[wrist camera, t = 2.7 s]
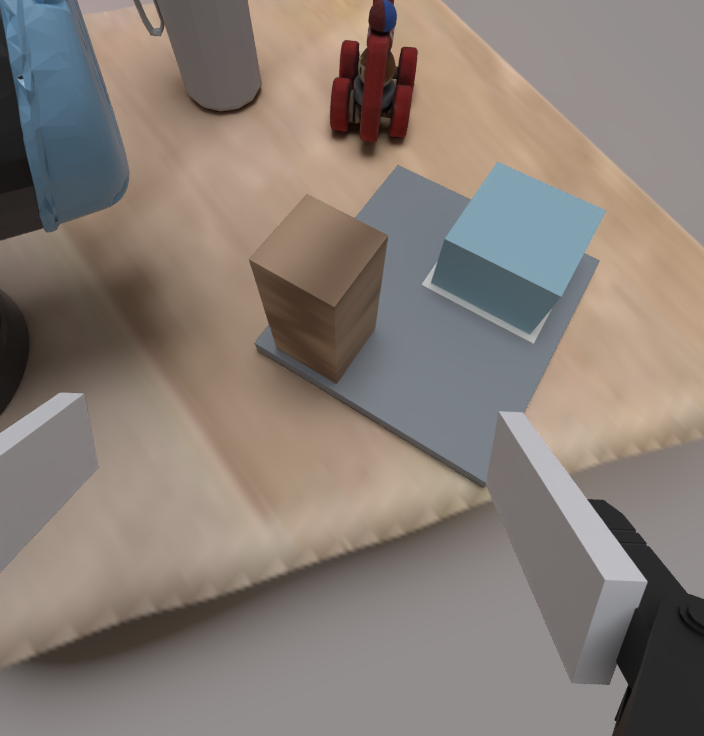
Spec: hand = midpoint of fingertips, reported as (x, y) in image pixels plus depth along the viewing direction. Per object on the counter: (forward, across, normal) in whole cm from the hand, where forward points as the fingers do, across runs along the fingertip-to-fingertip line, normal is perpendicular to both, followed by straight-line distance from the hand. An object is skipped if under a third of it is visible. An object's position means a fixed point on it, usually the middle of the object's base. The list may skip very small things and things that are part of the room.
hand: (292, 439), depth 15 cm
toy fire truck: (+36, +3, +14) cm, 39 cm away
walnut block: (+18, 0, -2) cm, 18 cm away
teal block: (+22, +13, +2) cm, 26 cm away
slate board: (+21, +8, 0) cm, 22 cm away
